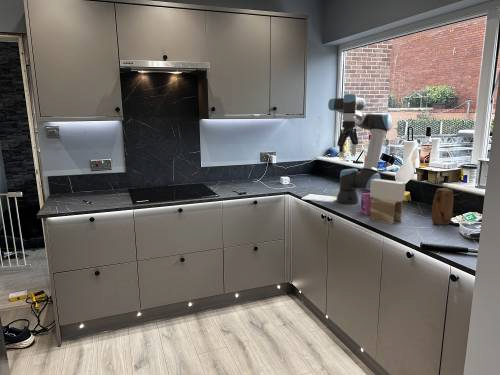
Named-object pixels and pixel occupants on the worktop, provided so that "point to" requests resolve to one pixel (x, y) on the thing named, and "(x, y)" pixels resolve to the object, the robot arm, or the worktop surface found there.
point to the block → (442, 206)
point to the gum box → (365, 202)
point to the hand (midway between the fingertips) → (347, 156)
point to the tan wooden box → (385, 210)
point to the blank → (387, 189)
